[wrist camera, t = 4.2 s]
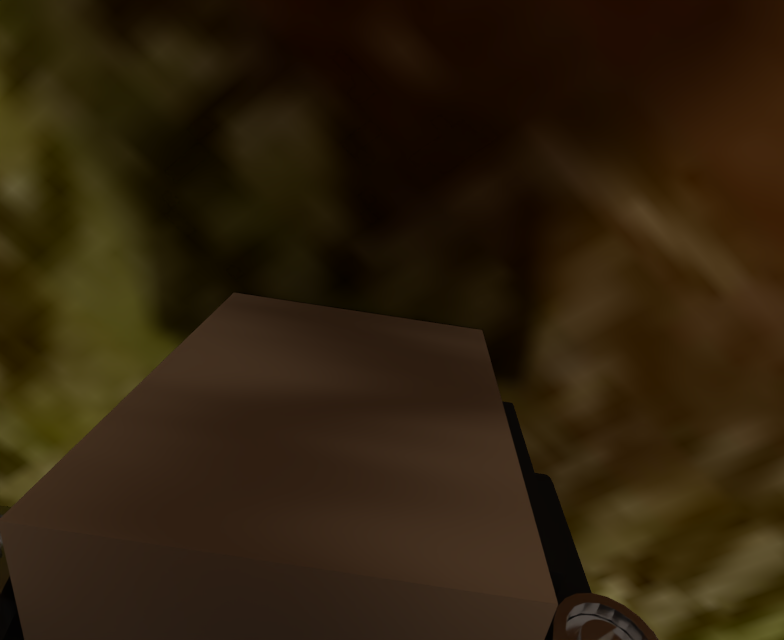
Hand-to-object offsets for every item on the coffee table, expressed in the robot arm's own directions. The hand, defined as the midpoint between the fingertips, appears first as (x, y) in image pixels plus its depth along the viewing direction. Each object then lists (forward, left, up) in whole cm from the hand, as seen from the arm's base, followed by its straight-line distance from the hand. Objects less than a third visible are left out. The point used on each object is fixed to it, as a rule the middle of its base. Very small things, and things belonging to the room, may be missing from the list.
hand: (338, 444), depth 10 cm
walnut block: (0, 0, -1) cm, 1 cm away
